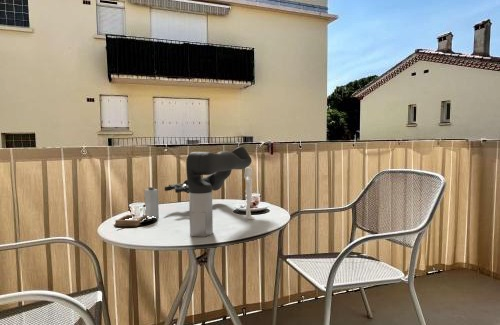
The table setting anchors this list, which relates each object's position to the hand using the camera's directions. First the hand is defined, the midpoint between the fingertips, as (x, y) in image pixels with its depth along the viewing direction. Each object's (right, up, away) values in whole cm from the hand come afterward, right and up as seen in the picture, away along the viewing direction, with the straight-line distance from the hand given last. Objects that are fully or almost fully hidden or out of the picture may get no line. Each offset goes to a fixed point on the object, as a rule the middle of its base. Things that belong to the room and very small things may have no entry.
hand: (170, 189), depth 160 cm
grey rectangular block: (-7, -13, -9) cm, 17 cm away
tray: (-13, -14, -18) cm, 26 cm away
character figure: (+41, -13, -12) cm, 45 cm away
